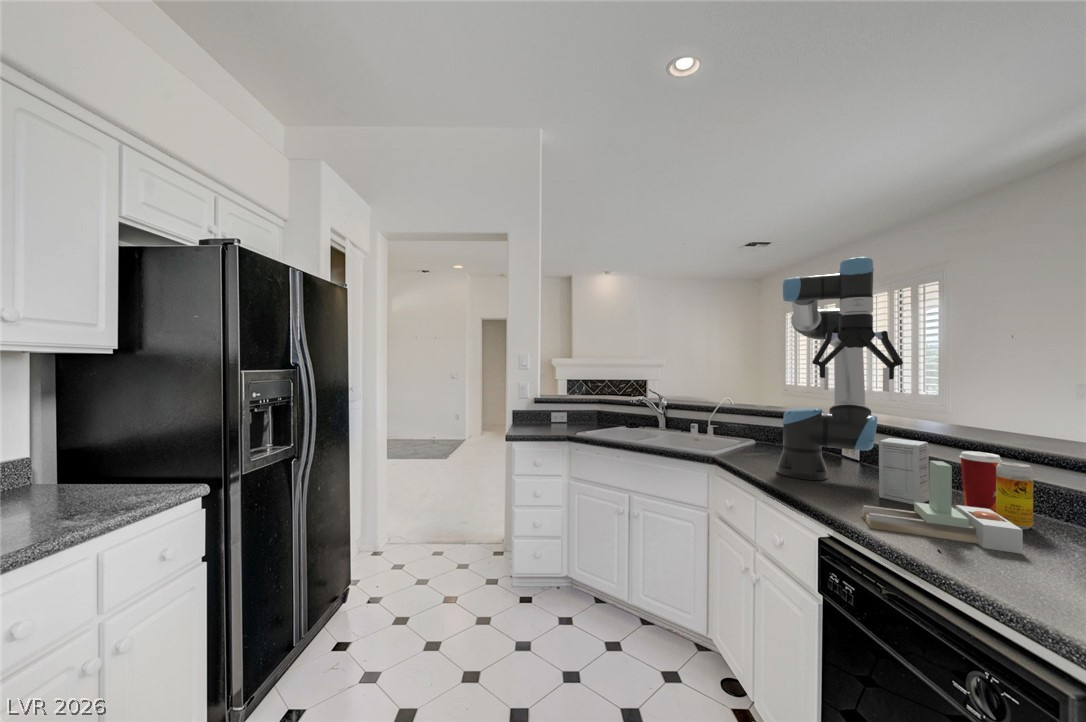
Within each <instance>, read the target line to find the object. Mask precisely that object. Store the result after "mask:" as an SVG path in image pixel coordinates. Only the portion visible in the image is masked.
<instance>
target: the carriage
mask: <svg viewBox="0 0 1086 722" xmlns="http://www.w3.org/2000/svg"><path fill="white" fill-rule="evenodd" d="M952 473H953V466H952V465H950V464H948V463H946V462H944V461H942V460H941V461H939V460H929V500H928V503H926V502H925V503H917V502H914V505H913V507H914V508H913V509H914V510H913V512H917V513H918V514H919V515H920V516H921V517H922V518H923V519H924V520H925V521H926V522H927V523H934V524H941V525H949V526H956V527H964V528H969V519H968V518H966V517H965V516H964V515H962V514H961V513H960V512H958V511H957V510H956V508H954V507H953V506H952V502H953V501H952V497H953V496H952V494H953V493H952V490H953V489H952V488H953V487H952V486H953V483H952V482H953V479H952V478H953V474H952Z"/></svg>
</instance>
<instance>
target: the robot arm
mask: <svg viewBox="0 0 1086 722" xmlns="http://www.w3.org/2000/svg"><path fill="white" fill-rule="evenodd" d="M873 260H874V259H872V258H871V257H867V256H859V257H858V256H857V257H851V258H847V259H844V260H842V261H841V262H840V263H839V264H840V265H839V272H838V273H833V274H832V273H831V274H819V275H808V276H807V275H806V276H795V277H788V278H785V279H784V280H783V283H782V299H783V301H784V302H786V303H787V302H788V303H789V302H791V307H792V312H793V313H792V314H791V318H790V322H791V327H792V328H793V329H794V330H795V331H797V333H799V334H800V335H802V336H804V337H807V338H809V339H813V340H824V341H823V343H822V344H821V346H820V348H819V350H818V351H817V353H816V354H815V356H814V358H813V360H812V364H813V365H815V366H818V367H819V378H820V379H823V390H824V391H829V376H830V375H829V373H830V372H829V370H830V369H829V366H826V365H828V364H829V362H831V361H832V359H833V360H834V361H833V362H834V363H833V365H834V366H833V367H834V371H833V372H834V376H833V379H834V383H833V384H834V389H833V390H834V404H833V405H831V407H829V409H828V410H829V411H828V412H823V409H822V408H820V407H805V408H803V407H802V408H801V407H800V408H794V409H793V408H792V409H787V410H786V411H784V413H783V419H782V432H783V433H782V435H783V437H782V452H781V454H780V457H779V460H778V463H777V467H776V472H777V473H778V474H780V475H782V476H786V477H788V478H793V479H799V480H807V481H809V480H810V481H823V480H826V479H828V478H829V477H828V475H829V474H828V469H827V466H826V463H825V461H824V457H823V455H822V454H823V453H822V449H823V448H822V447H824V448H834V449H841V450H843V449H844V450H850V451H851V450H852V451H866V452H867V451H870V450H872V449H873V447H874V444H875V440H876V433H877V428H878V416H877V415H874V414H872V410H871V408H869V407H868V406H867V405H866V393H865V392H866V389H865V388H866V387H865V386H866V385H865V367H864V366H865V364H864V361H865V360H864V348H865V347H866V349H868V350H869V351H870V352H871V353H872V354H873V355H874V356H876V357H877V358H878V359H879V361H881V362H882V363H883V364H884V365H885V366H886V367H882V392H884V393H890V380H894V378H895V368H896V367H897V366H898V367H899V366H902V365H904V362H903V360H902V358H901V357H900V355H899V353H898V352H897V350H896V349H895V347H894V346H893V343H892V342H891V340H890V339H889V333H888V331H887V330H883V331H878V332H875V331H874V319H873V318H874V315H872V312H874V294H873V291H874V290H873V289H874V271H875V268H874V261H873ZM837 299H838V300H839V307H838V308H819V301H823V300H837ZM875 337H876V338H877V339H878V340H880V342H881V344H882V346H883V348H885V350H886V352H887V353H888V355H889V356H890V358H891V360H892V361H891V360H890V359H889V358H888V357H887V356H886V355H885V354H884V353H883V352H882V351H881V350H880V349H879V348H878V347H877V346H876V345H875V344H874V343H873V342H872V340H873V339H874V338H875ZM829 345H830V346H832V347H833V350H831V352H830V353H828V355H827V356H825V357H824V359H823V360H822V361H820V360H821V359H822V357H823V355H824V354H825V352H826V350H827V349H828V348H829Z"/></svg>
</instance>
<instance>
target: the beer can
mask: <svg viewBox="0 0 1086 722" xmlns="http://www.w3.org/2000/svg"><path fill="white" fill-rule="evenodd" d="M995 513H997V514H998V515H1000V516H1001V517H1003V518H1005V519H1006V520H1008V521H1009V522H1011V523H1012V524H1014V525H1016V526H1017V527H1019V528H1020V529H1022V530H1030V528H1032V527H1033V526H1034V470H1033V468H1032V466H1031V465H1030V464H1026V463H1020V462H1015V461H1003V462H999V463H998V465H997V466H996V512H995Z"/></svg>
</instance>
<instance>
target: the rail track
mask: <svg viewBox="0 0 1086 722" xmlns="http://www.w3.org/2000/svg"><path fill="white" fill-rule="evenodd" d="M861 516H862V518H863V519H864V520H865V523H866V524H867V525H868V526H869V528H870V529H875V530H876V529H877V530H883V531H890V532H896V533H902V534H903V533H904V534H910V535H917V536H924V537H932V538H938V539H945V540H952V541H958V542H963V543H965V542H966V543H972V544H978V536H976V528H975V527H973V526H969V528H964V527H956V526H949V525H941V524H934V523H927V522H926V521H925V520H924V519H923V518H922V517H921V516H920V515H919V514H918V513H917V512H916V511H914V510H913V511H911V510H904V509H897V508H896V509H895V508H888V507H880V506H873V505H867V504H866V505H865V504H863V505H862V510H861ZM978 545H979V544H978Z"/></svg>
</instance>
